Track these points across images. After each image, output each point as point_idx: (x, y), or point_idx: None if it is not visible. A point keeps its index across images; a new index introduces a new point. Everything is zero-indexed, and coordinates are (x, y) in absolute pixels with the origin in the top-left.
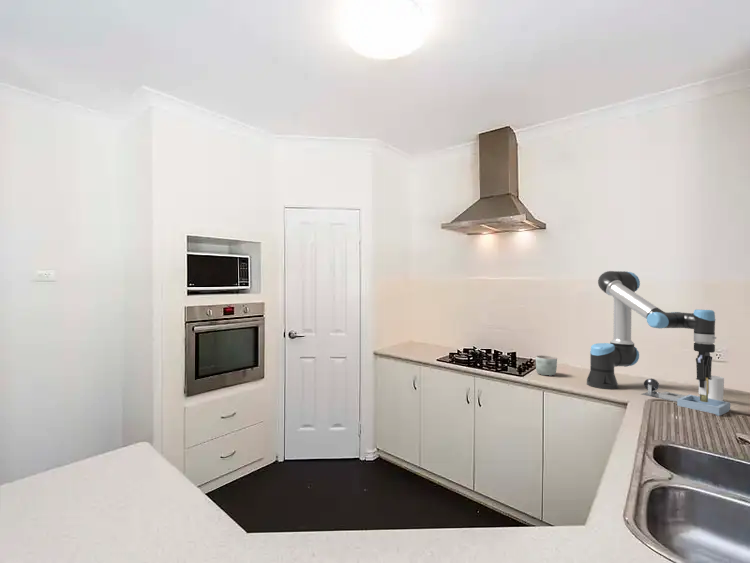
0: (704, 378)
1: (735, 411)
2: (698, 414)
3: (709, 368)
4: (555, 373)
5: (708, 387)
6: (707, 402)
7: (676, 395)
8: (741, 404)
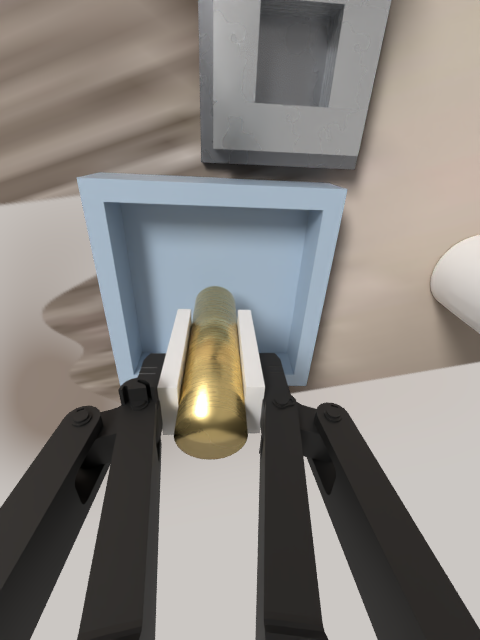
0: (100, 466)
1: None
2: (54, 301)
3: (352, 560)
4: None
5: None
6: (301, 290)
7: (329, 88)
8: (474, 357)
